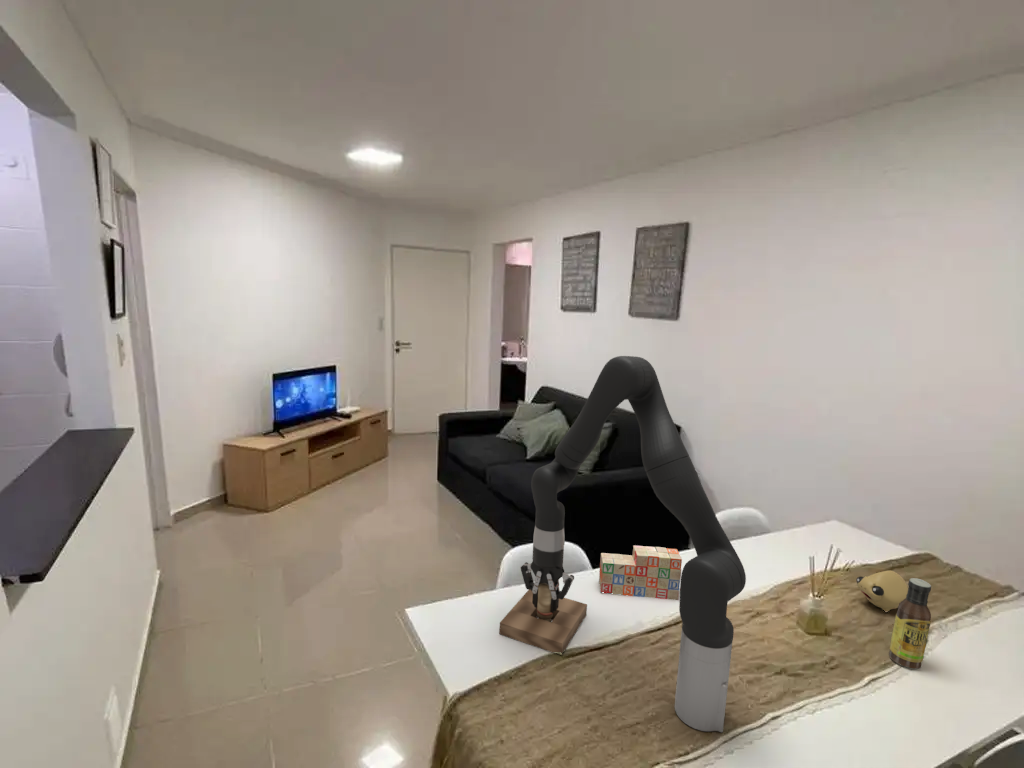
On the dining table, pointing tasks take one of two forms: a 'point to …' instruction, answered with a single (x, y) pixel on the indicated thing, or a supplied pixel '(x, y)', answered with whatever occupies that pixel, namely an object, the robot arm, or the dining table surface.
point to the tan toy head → (883, 589)
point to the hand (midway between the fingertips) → (545, 608)
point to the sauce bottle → (911, 626)
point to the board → (543, 624)
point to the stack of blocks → (642, 573)
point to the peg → (544, 602)
